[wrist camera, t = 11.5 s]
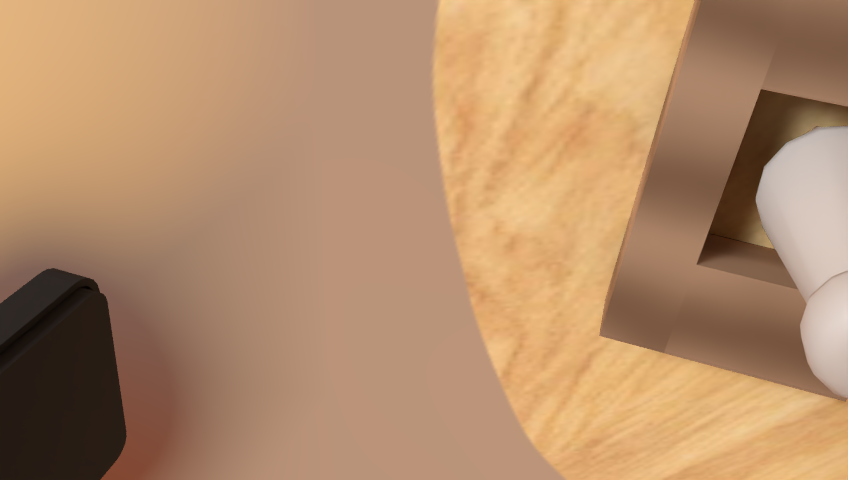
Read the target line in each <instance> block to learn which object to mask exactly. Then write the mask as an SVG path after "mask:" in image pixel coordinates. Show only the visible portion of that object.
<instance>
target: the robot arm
mask: <svg viewBox="0 0 848 480" xmlns="http://www.w3.org/2000/svg"><path fill="white" fill-rule="evenodd" d="M125 441H126V426H125V420H124V413H123V406H122V399H121V392H120V385H119V379H118V372H117V365H116V358H115V351H114V344H113V337H112V330H111V323H110V317H109V309H108V303H107V299H106V297H105V296H104V294H102V293H100V291H99V288H98V285H97V283H96V282H95V281H94V280H92V279H90V278H86V277H83V276H79V275H76V274H72V273H68V272H65V271H62V270H58V269H54V268H52V269H47V270H45V271H43V272H41V273H40V274H39V275H37V276H36V277H34V278H33V279H32V280H31V281H29V282H28V283H27V284H25V285H24V286H23V287H22V288H20V289H19V290H17V291H16V292H15V293H14V294H12V295H11V296H10V297H8V298H7V299H6V300H4V301H3V302H2V303H0V480H100V479H101V478H102V477H103V475H104V474H105V473H106V472H107V471H108V470H109V469H110V467H111V466H112V465H113V464H114V463H115V461H116V460H117V459H118V457H119V456H120V454H121V452H122V450H123V447H124V445H125Z"/></svg>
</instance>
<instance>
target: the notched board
mask: <svg viewBox="0 0 848 480" xmlns="http://www.w3.org/2000/svg"><path fill="white" fill-rule="evenodd" d="M761 89H763V90H768V91H773V92H778V93H783V94H788V95H793V96H798V97H803V98H808V99H813V100H818V101H822V102H827V103H832V104H837V105H842V106H847V107H848V0H695V2H694V5H693V8H692V12H691V15H690V18H689V22H688V25H687V28H686V32H685V35H684V38H683V42H682V45H681V48H680V52H679V55H678V58H677V62H676V65H675V68H674V72H673V75H672V78H671V82H670V85H669V88H668V92H667V95H666V98H665V102H664V105H663V109H662V112H661V115H660V119H659V122H658V125H657V129H656V132H655V135H654V139H653V142H652V145H651V149H650V152H649V155H648V159H647V162H646V165H645V169H644V172H643V175H642V179H641V182H640V185H639V189H638V192H637V195H636V199H635V202H634V205H633V209H632V212H631V216H630V219H629V222H628V226H627V229H626V232H625V236H624V239H623V242H622V246H621V249H620V252H619V256H618V259H617V262H616V266H615V269H614V272H613V276H612V279H611V282H610V286H609V289H608V292H607V296H606V299H605V304H604V311H603V317H602V323H601V329H600V335H599V336H603V337H606V338H610V339H614V340H617V341H621V342H625V343H629V344H632V345H636V346H640V347H644V348H647V349H651V350H655V351H659V352H662V353H666V354H670V355H674V356H677V357H681V358H685V359H689V360H692V361H696V362H700V363H703V364H707V365H711V366H715V367H718V368H722V369H726V370H730V371H733V372H737V373H741V374H745V375H748V376H752V377H756V378H760V379H763V380H767V381H771V382H774V383H778V384H782V385H786V386H789V387H793V388H797V389H801V390H804V391H808V392H812V393H816V394H819V395H823V396H827V397H831V398H834V399H838V400H842V401H846V400H847V399H846V398H844V397H841V396H839V395H836V394H834V393H833V392H832V391H831V390H830V389H829V388H828V387H827V386H825V385H824V384H823V383H822V382H821V381H820V380H819V379H818V378H817V377H816V376H815V375H814V374H813V372H812V370H811V368H810V366H809V364H808V362H807V358H806V354H805V350H804V346H803V342H802V338H801V330H800V323H801V320H802V317H803V315H804V312H805V309H806V306H807V304H806V302H805V300H804V298H803V297H802V295H801V293H800V291H799V290H798V288H797V286H796V284H795V283H794V281H793V279H792V277H791V276H790V274H789V272H788V271H787V269H786V267H785V265H784V264H783V262H782V260H781V258H780V257H779V255H778V253H777V251H776V250H775V249H771V248H767V247H763V246H758V245H754V244H750V243H746V242H741V241H737V240H733V239H729V238H725V237H720V236H716V235H712V234H708V232H709V229H710V226H711V223H712V221H713V218H714V215H715V213H716V210H717V207H718V204H719V202H720V199H721V196H722V194H723V191H724V188H725V185H726V183H727V180H728V177H729V175H730V172H731V169H732V166H733V164H734V161H735V158H736V155H737V153H738V150H739V147H740V145H741V142H742V139H743V136H744V134H745V131H746V128H747V126H748V123H749V120H750V117H751V115H752V112H753V109H754V107H755V104H756V101H757V98H758V96H759V93H760V90H761Z"/></svg>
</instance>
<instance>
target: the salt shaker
mask: <svg viewBox="0 0 848 480" xmlns="http://www.w3.org/2000/svg"><path fill="white" fill-rule="evenodd" d="M756 204H757V208H758V212H759V215H760V219H761V223H762V227H763V229H764V231H765V232H766V234H767V236H768V238H769V239H770V241H771V243H772V245H773V246H774V248H775V250H776V251H777V253H778V255H779V257H780V258H781V260H782V262H783V264H784V265H785V267H786V269H787V271H788V272H789V274H790V276H791V277H792V279H793V281H794V283H795V284H796V286H797V288H798V290H799V291H800V293H801V295H802V297H803V298H804V300H805V302H806V304H807V306H806V309H805V312H804V315H803V317H802V320H801V323H800V330H801V338H802V342H803V346H804V350H805V354H806V358H807V362H808V364H809V366H810V368H811V370H812V372H813V374H814V375H815V376H816V377H817V378H818V379H819V380H820V381H821V382H822V383H823V384H824V385H825V386H827V387H828V388H829V389H830V390H831V391H832V392H833V393H834V394H836V395H839V396H841V397H844V398H846V399H848V126H833V127H819V126H816V127H814V128H813V129H812V130H810V131H809V132H807V133H806V134H804V135H802V136H800V137H797V138H795V139H793V140H791V141H789V142H787V143H786V144H785V145H784V146H783V147H782V148H781V149H780V150H779V151H778V152H777V153H776V154H775V155H774V157H773V158H772V159H771V160H770V161H769V162H768V163H767V164H766V165H765V166H764V169H763V173H762V176H761V180H760V183H759V187H758V190H757V194H756Z"/></svg>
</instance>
